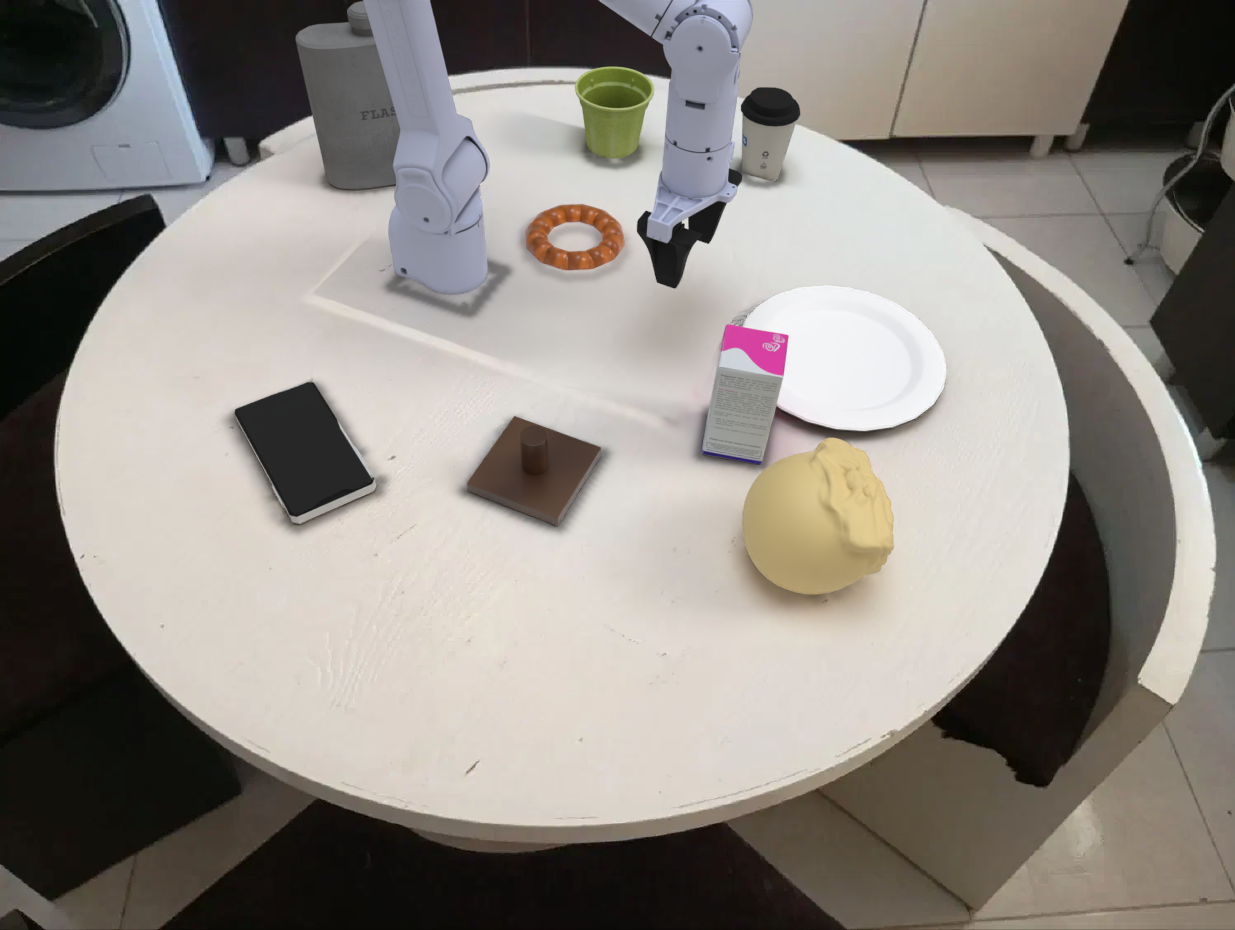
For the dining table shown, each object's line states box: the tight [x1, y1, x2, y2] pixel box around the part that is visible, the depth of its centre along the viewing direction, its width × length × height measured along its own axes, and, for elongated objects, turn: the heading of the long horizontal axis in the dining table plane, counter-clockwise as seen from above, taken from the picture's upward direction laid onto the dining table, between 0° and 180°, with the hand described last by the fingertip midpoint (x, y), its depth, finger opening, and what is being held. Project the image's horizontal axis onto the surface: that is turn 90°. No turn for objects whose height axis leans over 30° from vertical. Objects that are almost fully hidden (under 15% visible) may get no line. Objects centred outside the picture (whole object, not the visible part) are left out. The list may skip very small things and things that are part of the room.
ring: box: [525, 203, 625, 271], centre depth 110 cm, size 11×11×2 cm
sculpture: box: [741, 437, 895, 595], centre depth 81 cm, size 11×12×11 cm
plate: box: [741, 284, 948, 433], centre depth 100 cm, size 21×21×2 cm
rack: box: [466, 415, 602, 527], centre depth 88 cm, size 9×9×5 cm
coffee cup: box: [740, 86, 801, 183], centre depth 117 cm, size 7×7×10 cm
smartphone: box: [234, 380, 377, 525], centre depth 90 cm, size 8×1×15 cm
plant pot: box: [574, 66, 655, 159], centre depth 120 cm, size 9×9×9 cm
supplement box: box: [701, 323, 789, 465], centre depth 89 cm, size 6×6×12 cm
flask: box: [295, 0, 437, 190], centre depth 111 cm, size 15×6×20 cm, turn 112°
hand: (684, 261), depth 95 cm, fingers open, 7 cm apart
